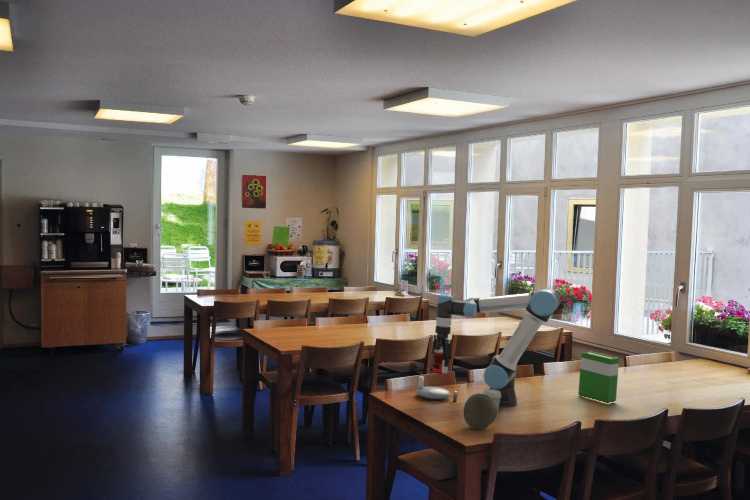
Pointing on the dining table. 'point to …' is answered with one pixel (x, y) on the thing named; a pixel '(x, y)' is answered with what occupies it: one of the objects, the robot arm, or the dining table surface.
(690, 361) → the dining table surface
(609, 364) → the hardback book
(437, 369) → the canned food
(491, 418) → the cantaloupe
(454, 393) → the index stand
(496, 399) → the coffee cup
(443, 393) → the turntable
